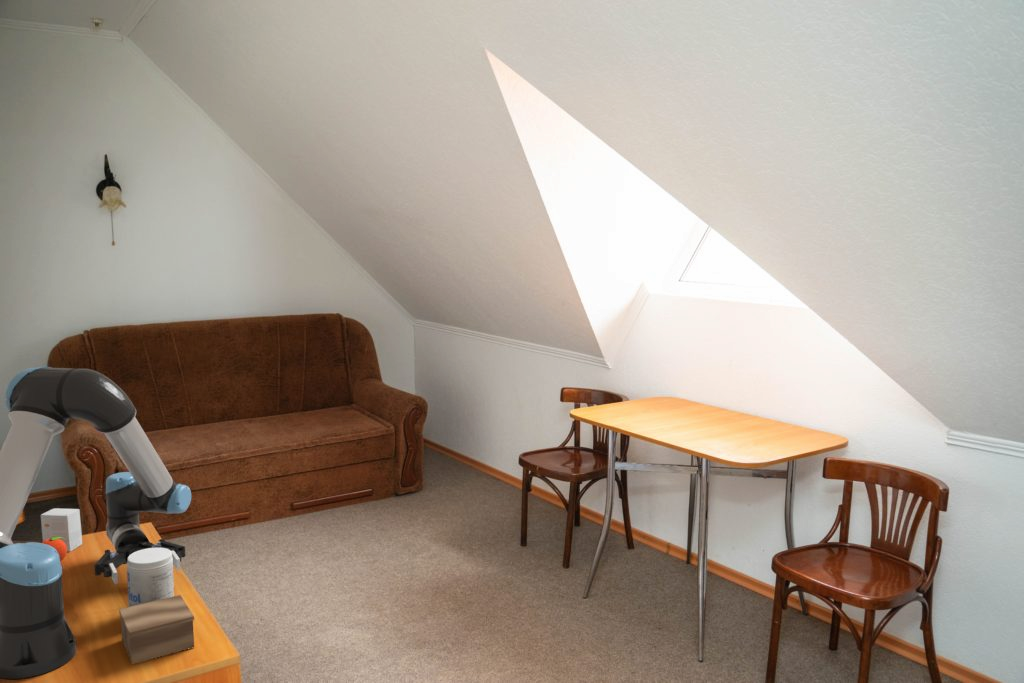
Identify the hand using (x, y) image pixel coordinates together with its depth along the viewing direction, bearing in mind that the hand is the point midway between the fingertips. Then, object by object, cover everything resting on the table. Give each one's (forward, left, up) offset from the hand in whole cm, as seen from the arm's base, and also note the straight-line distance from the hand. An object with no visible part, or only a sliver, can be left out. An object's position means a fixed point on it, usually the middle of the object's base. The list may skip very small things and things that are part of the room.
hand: (147, 571), depth 186 cm
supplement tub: (-4, -5, -9) cm, 11 cm away
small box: (+14, +51, -9) cm, 54 cm away
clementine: (+6, +43, -9) cm, 44 cm away
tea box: (-12, -17, -8) cm, 22 cm away
